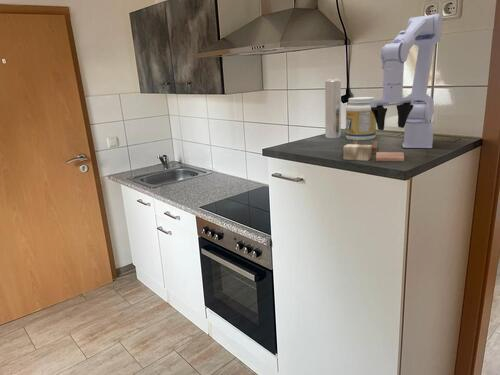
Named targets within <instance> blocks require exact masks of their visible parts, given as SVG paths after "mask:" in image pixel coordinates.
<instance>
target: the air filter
mask: <svg viewBox="0 0 500 375" xmlns="http://www.w3.org/2000/svg"><path fill="white" fill-rule="evenodd" d="M324 83H325V85H324V88H325V93H324V97H325V98H324V101H325V104H324V106H325V108H324V109H325V110H324V111H325V115H324V116H325V118H324V119H325V121H324V122H325V128H324V129H325V130H324V131H325V133H324V134H325V138H326V139H339V138H341V135H342V134H341V130H342V129H341V121H342V120H341V117H342V116H341V114H342V113H341V112H342V108H341V107H342V104H341V103H342V102H341V101H342V81H341V80H340V78H327V79H325V82H324Z"/></svg>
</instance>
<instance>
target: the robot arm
mask: <svg viewBox="0 0 500 375" xmlns="http://www.w3.org/2000/svg"><path fill="white" fill-rule="evenodd" d="M442 31H443V17H442V15H441V14H440V13H439V12H438V13H434V14H430V15H422V16H415V17H414V16H411V17H409V19H408V20H407V25H406V29H405V30H400V31H399V33H398V34H397V35H396V37H395V38H394V39H393V40H392V41H391V42H390V43H386V44H385V45H383V46H382V48H381V51H380V61H381V69H382V70H383V78H382V79H383V81H382V99H380V98H379V99H375V100H373V101H370V107H371V111H372V112H373V114H374V117H375V119H376V128H377V130H378V131H384V129H385V123H386V122H385V121H386V115H387V111H388V108H387V107H389V106H395V107H396V110H397V126H398V128H401V129H404V133H403V134H404V137H403V139H404V140H403V142H402V148H403V149H432V148H433V142H434V138H433V137H434V122H433V121H431V120H432V118H433V115H434V105H435V104H434V98H432V96H430V95H429V94H428V93H427V91H428V85H429V80H430V79H429V78H430V73H431V69H432V68H431V66H432V61H433V53H434V49H435V45H436V44H438V43H439V42H440V40H441V37H442ZM414 45H415V46H416V47H418V49H417V50H418V51H417V55H416V62H415V67H414V68H415V69H414V75H413V82H412V86H411V93H410V94H408V95H407V96H404V97H403V93H404V92H403V90H404V86H403V85H404V72H405V70H404V69H405V62H406V61H407V60H408V56H409V53H410V51H411V50H410V49H412V47H413V46H414Z"/></svg>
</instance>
